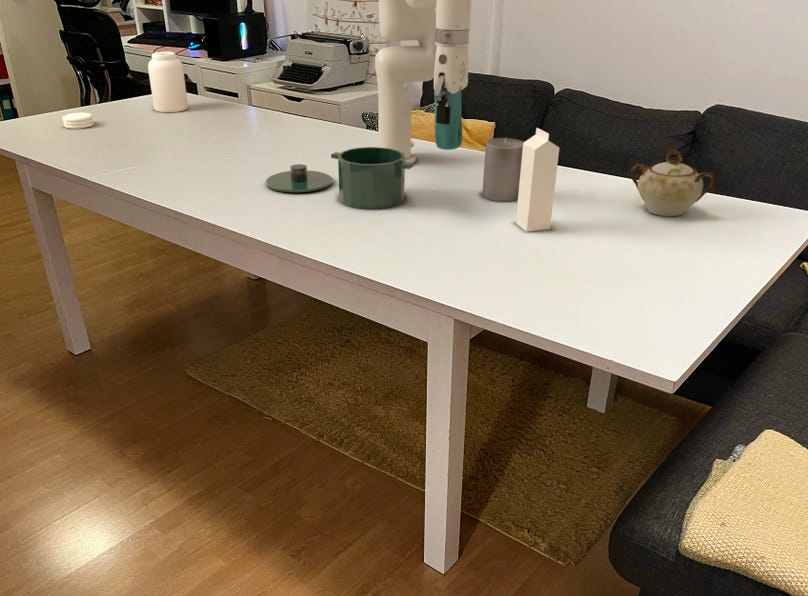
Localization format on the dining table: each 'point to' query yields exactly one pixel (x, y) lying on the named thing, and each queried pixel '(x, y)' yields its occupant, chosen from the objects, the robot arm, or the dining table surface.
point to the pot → (371, 177)
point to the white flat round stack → (78, 120)
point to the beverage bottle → (450, 133)
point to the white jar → (167, 82)
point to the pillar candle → (502, 169)
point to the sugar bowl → (670, 186)
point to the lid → (299, 180)
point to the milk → (537, 182)
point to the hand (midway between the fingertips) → (448, 119)
